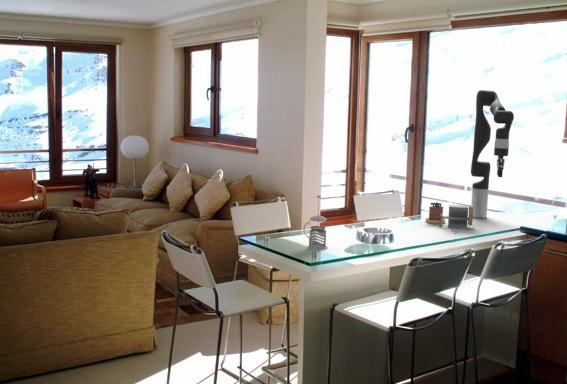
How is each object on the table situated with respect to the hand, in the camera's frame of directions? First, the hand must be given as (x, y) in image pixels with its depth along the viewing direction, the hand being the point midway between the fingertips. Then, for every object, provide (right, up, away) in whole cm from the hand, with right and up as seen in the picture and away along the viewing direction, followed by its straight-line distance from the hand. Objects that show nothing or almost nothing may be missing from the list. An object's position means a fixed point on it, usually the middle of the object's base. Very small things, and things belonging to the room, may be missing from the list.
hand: (499, 176), depth 371 cm
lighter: (-34, -25, +8) cm, 43 cm away
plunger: (-25, -28, -4) cm, 38 cm away
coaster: (-34, -26, +9) cm, 43 cm away
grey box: (-24, -28, -4) cm, 37 cm away
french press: (-105, -35, -58) cm, 125 cm away
